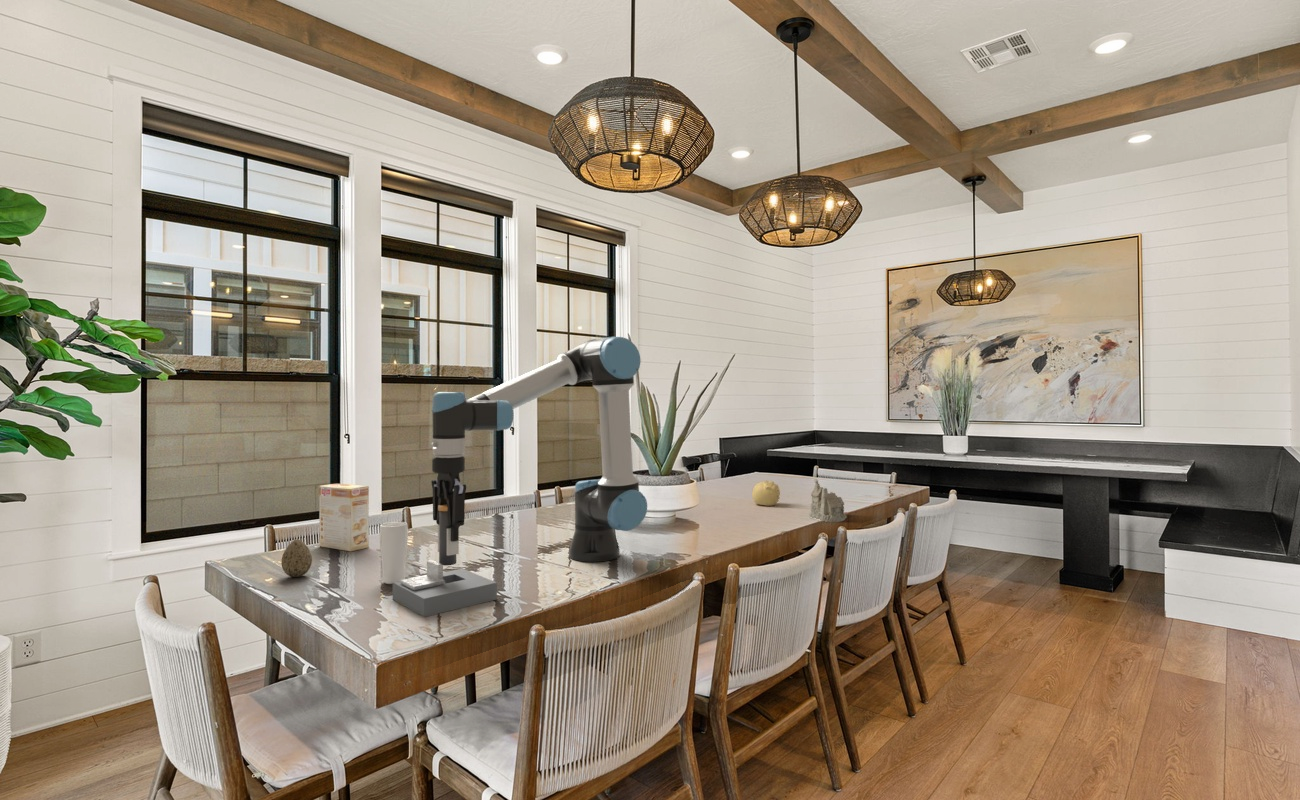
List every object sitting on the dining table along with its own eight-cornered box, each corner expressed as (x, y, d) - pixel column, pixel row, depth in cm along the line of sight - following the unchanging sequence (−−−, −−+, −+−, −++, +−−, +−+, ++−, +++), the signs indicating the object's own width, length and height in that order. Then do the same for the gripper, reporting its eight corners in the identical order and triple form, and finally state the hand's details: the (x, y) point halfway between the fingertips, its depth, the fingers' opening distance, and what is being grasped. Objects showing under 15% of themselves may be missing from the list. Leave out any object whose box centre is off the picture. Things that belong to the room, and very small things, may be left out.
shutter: (430, 577, 160) (430, 559, 160) (445, 583, 155) (445, 565, 155) (400, 583, 155) (400, 564, 155) (414, 590, 150) (413, 571, 150)
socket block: (462, 584, 169) (462, 568, 169) (496, 599, 157) (496, 582, 156) (392, 599, 157) (392, 582, 157) (423, 616, 144) (423, 598, 144)
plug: (452, 560, 162) (452, 503, 162) (461, 563, 159) (461, 505, 159) (434, 563, 159) (434, 505, 159) (443, 566, 156) (443, 507, 156)
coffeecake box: (369, 547, 209) (369, 485, 209) (350, 552, 203) (350, 488, 202) (338, 542, 216) (338, 482, 216) (318, 546, 210) (318, 485, 209)
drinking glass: (386, 578, 174) (386, 521, 174) (411, 578, 174) (411, 521, 174) (375, 585, 168) (375, 526, 167) (401, 585, 167) (401, 526, 167)
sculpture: (777, 508, 282) (777, 482, 282) (749, 506, 287) (749, 481, 286) (782, 503, 293) (782, 479, 293) (755, 502, 297) (755, 478, 297)
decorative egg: (317, 575, 176) (317, 538, 176) (291, 582, 170) (291, 543, 170) (301, 571, 180) (301, 535, 180) (275, 578, 174) (275, 540, 174)
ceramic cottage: (823, 522, 250) (824, 482, 251) (802, 516, 266) (804, 479, 267) (859, 523, 254) (861, 484, 255) (837, 517, 270) (838, 480, 270)
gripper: (418, 454, 163) (417, 549, 163) (450, 459, 150) (449, 562, 150) (446, 452, 168) (446, 544, 168) (480, 457, 155) (479, 556, 156)
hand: (448, 552), depth 159 cm, fingers closed on plug, 4 cm apart
